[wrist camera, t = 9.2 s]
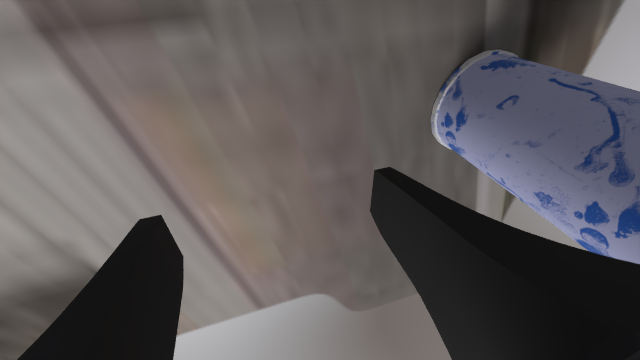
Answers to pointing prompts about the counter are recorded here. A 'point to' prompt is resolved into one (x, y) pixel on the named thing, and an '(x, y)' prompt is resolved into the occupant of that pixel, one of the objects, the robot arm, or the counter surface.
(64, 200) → the counter surface
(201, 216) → the counter surface
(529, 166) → the aerosol can
